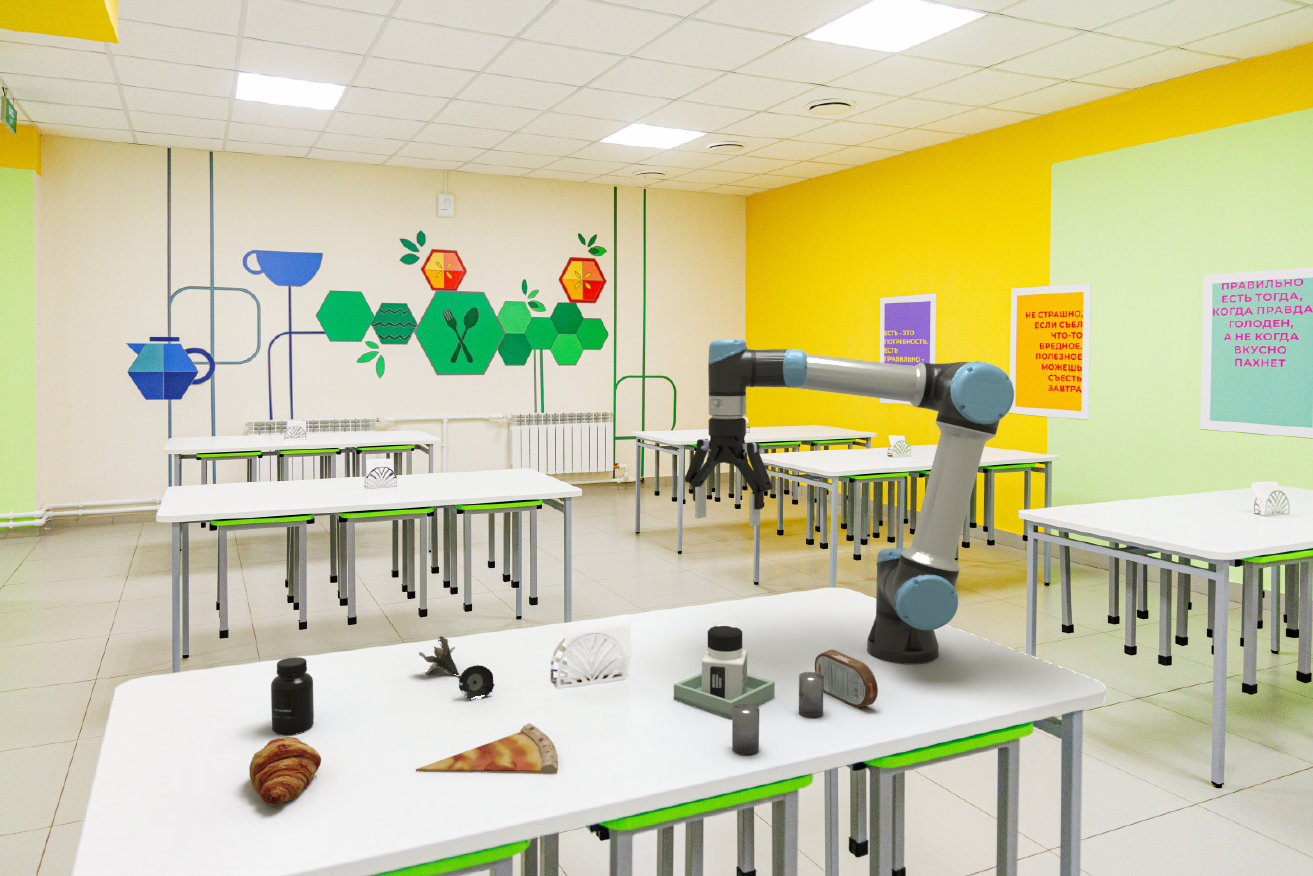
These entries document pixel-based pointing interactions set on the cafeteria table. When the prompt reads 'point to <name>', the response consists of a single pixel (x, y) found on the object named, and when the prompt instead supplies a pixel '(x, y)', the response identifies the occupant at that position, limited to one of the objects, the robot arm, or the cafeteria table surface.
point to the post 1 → (745, 729)
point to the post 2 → (811, 695)
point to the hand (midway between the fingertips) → (727, 521)
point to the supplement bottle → (292, 697)
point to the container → (724, 663)
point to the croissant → (283, 769)
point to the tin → (847, 678)
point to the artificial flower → (473, 678)
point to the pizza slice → (505, 756)
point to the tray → (693, 695)
